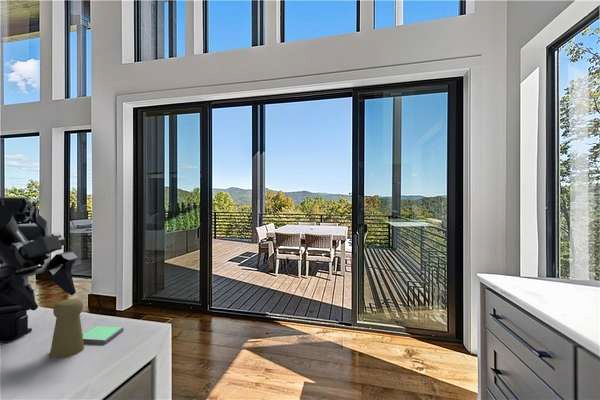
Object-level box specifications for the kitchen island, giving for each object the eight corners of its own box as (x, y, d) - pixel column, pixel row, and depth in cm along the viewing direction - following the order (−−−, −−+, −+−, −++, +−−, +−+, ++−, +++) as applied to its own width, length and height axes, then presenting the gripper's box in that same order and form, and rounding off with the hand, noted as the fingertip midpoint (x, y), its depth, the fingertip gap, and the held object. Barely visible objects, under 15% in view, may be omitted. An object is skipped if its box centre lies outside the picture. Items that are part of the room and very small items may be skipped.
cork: (66, 359, 65) (67, 306, 65) (42, 355, 66) (43, 303, 66) (90, 346, 71) (92, 297, 71) (68, 342, 72) (69, 294, 72)
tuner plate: (74, 342, 72) (74, 338, 72) (95, 329, 79) (95, 325, 79) (105, 344, 72) (105, 340, 72) (123, 330, 79) (123, 327, 79)
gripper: (-12, 227, 59) (39, 290, 58) (72, 218, 78) (112, 266, 77) (-49, 265, 60) (1, 328, 59) (42, 248, 79) (81, 295, 78)
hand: (56, 301), depth 68 cm, fingers open, 9 cm apart
